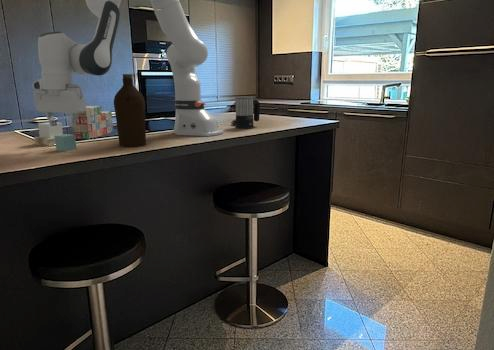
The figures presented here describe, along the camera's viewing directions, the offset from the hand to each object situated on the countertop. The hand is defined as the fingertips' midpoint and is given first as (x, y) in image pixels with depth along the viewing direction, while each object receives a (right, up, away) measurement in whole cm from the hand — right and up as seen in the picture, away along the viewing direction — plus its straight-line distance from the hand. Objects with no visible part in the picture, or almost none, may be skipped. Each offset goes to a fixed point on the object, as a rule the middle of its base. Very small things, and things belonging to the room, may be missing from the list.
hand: (62, 126), depth 123 cm
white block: (-11, -2, +13) cm, 17 cm away
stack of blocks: (-3, 0, +33) cm, 34 cm away
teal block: (0, -8, +2) cm, 8 cm away
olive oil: (+20, -5, +11) cm, 24 cm away
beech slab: (-11, -5, +14) cm, 18 cm away
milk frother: (+59, +8, +61) cm, 85 cm away
